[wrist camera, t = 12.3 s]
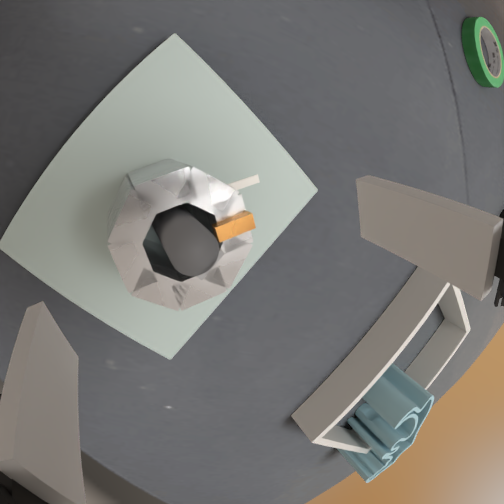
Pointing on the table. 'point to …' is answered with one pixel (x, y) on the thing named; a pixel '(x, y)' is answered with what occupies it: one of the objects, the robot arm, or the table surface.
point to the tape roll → (474, 54)
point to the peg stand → (166, 222)
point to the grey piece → (153, 254)
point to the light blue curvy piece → (388, 421)
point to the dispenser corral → (386, 358)
